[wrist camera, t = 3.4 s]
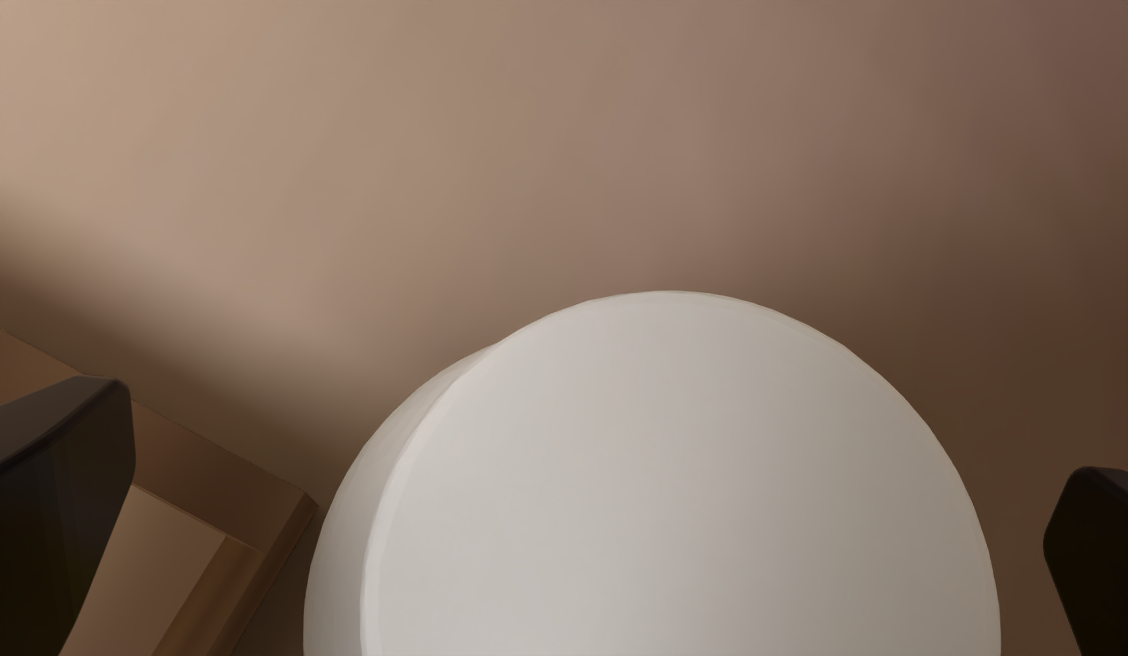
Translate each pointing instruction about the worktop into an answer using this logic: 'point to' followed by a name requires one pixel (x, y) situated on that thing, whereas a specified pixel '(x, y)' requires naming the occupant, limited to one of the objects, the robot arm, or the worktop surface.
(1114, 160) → the worktop surface
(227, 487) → the ridge
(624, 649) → the supplement bottle
